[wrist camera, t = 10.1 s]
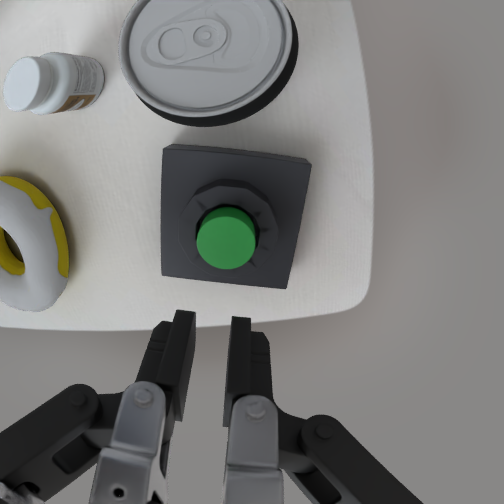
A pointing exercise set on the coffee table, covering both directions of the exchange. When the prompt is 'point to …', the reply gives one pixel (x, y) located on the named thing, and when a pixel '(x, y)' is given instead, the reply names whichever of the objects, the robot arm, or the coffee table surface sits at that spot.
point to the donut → (31, 247)
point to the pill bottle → (53, 83)
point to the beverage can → (208, 57)
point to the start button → (226, 238)
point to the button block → (237, 196)
